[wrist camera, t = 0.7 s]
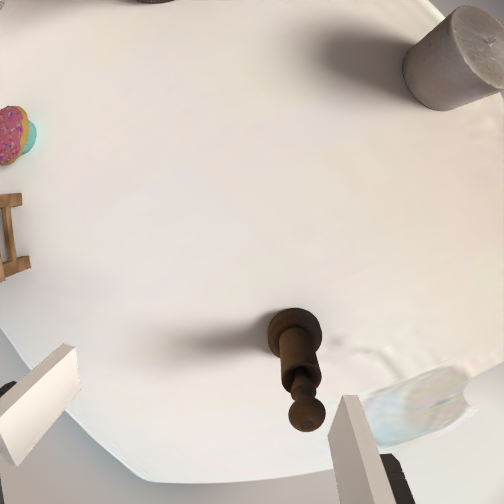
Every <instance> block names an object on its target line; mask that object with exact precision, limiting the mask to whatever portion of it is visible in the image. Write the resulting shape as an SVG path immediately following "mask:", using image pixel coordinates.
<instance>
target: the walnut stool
mask: <svg viewBox="0 0 504 504" xmlns="http://www.w3.org/2000/svg"><path fill="white" fill-rule="evenodd" d="M19 205H22V195H21V193H16V194H3V195H0V208H2V216H3V225H4V233H5V241H6V247H7V254H8V260H9V261H7V262H4V263H2V260H1V254H0V282H2V281H5V277H8V276H10V275H13V274H15V273H18V272H21V271H23V270H26V269H28V268H31V266H30V261H29V256H23V257H19V258H17V257H16V250H15V244H14V237H13V229H12V220H11V211H10V207H15V206H19Z"/></svg>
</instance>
